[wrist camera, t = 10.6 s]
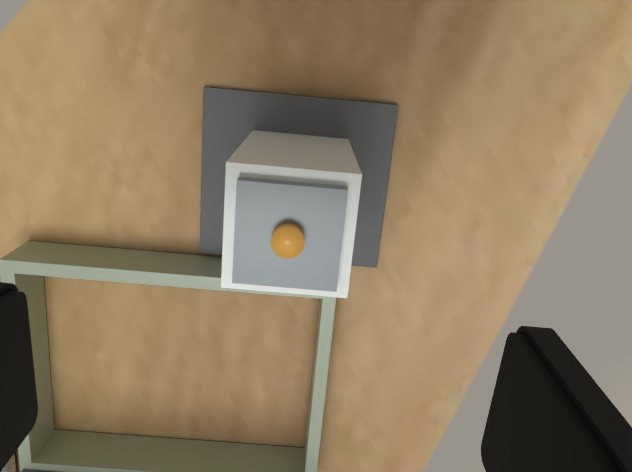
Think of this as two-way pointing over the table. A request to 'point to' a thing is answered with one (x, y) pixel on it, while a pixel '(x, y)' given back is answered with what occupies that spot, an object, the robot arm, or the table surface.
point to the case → (130, 450)
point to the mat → (305, 119)
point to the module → (290, 214)
